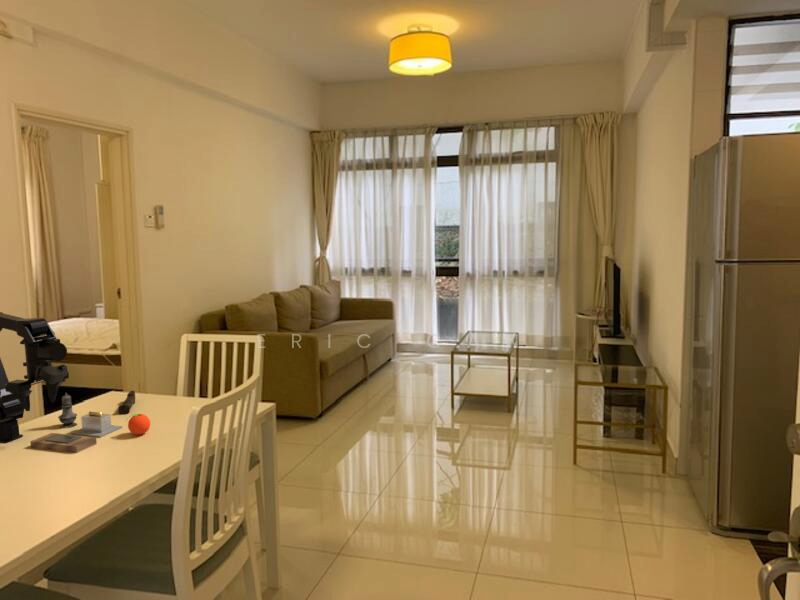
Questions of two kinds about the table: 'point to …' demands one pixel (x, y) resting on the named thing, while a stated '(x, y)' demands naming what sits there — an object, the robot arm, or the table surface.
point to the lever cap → (96, 422)
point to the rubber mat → (96, 434)
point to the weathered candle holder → (67, 413)
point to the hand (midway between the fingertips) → (40, 406)
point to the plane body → (63, 442)
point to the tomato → (139, 424)
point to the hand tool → (127, 403)
